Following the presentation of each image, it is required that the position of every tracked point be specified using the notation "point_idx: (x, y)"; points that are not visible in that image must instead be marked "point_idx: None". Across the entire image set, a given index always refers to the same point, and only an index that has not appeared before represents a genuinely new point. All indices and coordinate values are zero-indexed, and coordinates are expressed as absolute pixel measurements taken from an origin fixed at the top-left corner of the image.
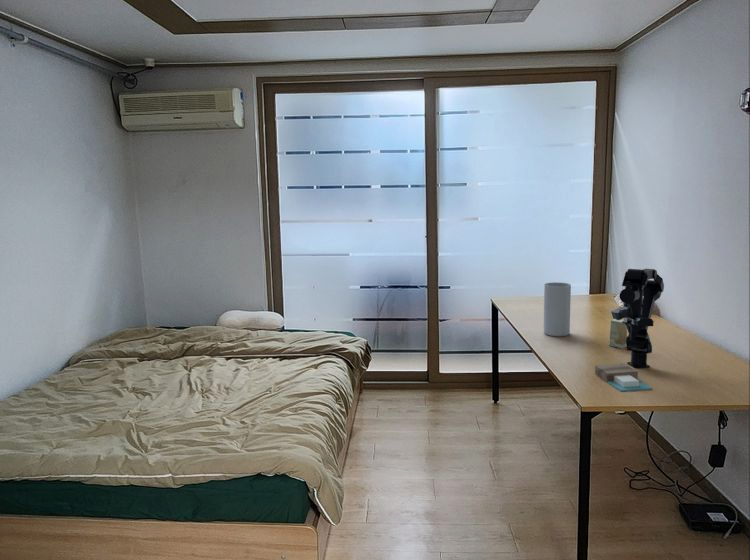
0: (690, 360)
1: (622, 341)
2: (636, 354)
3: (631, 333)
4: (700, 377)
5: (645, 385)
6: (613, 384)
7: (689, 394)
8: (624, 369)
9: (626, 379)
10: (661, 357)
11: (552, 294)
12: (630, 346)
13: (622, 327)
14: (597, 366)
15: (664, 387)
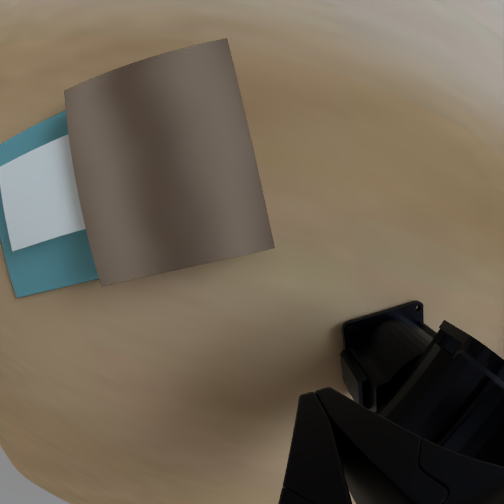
0: None
1: None
2: (389, 366)
3: (291, 473)
4: (209, 501)
5: (38, 281)
6: (41, 127)
7: (16, 399)
8: (137, 211)
9: (22, 190)
10: None
11: None
12: (426, 354)
13: None
14: (204, 47)
15: (54, 356)
